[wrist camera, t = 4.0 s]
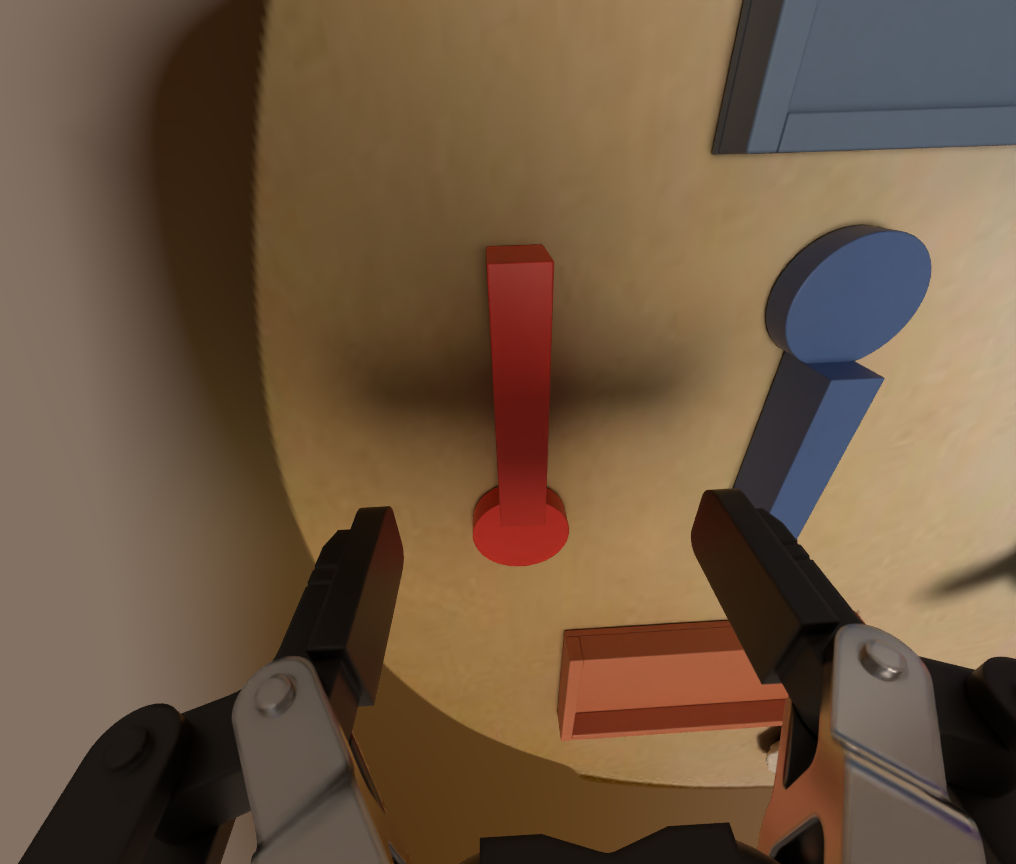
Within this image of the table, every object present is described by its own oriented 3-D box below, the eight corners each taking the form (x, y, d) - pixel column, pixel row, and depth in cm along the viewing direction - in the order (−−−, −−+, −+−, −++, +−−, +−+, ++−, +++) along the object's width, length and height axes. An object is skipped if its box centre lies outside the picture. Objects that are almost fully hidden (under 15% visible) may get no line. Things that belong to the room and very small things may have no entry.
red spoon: (444, 247, 13) (436, 265, 11) (584, 242, 13) (603, 258, 11) (476, 549, 21) (475, 593, 19) (562, 544, 21) (571, 587, 19)
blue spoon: (775, 529, 21) (806, 570, 19) (690, 534, 21) (713, 576, 19) (926, 222, 13) (1010, 234, 11) (791, 227, 13) (850, 241, 11)
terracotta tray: (557, 712, 32) (560, 741, 30) (564, 630, 25) (569, 661, 24) (790, 696, 32) (806, 724, 31) (856, 612, 26) (880, 641, 24)
